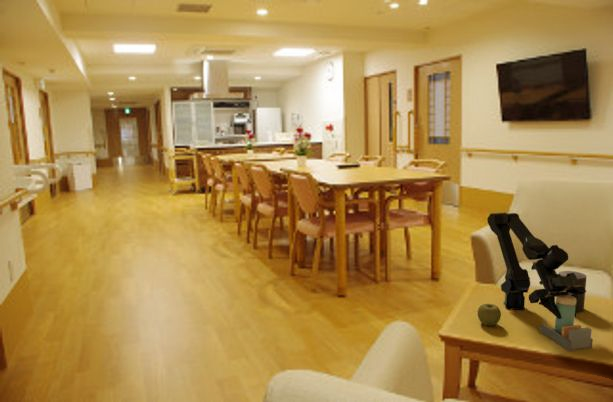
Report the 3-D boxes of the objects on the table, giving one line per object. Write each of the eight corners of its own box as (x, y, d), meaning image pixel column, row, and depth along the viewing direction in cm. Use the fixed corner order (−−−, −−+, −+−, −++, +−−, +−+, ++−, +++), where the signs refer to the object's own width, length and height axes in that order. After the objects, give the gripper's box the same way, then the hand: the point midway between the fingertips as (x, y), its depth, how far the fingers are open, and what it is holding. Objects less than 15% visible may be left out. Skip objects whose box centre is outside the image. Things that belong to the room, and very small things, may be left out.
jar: (552, 335, 165) (555, 298, 163) (556, 328, 170) (559, 293, 167) (571, 339, 162) (574, 302, 159) (575, 333, 166) (578, 297, 164)
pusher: (560, 340, 162) (562, 326, 162) (577, 338, 164) (578, 324, 163) (563, 342, 161) (564, 328, 161) (579, 340, 163) (581, 326, 162)
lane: (540, 331, 171) (541, 314, 170) (561, 329, 173) (563, 311, 171) (568, 350, 157) (570, 331, 156) (592, 347, 159) (593, 329, 158)
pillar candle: (581, 314, 184) (585, 276, 181) (553, 309, 190) (556, 272, 187) (585, 306, 191) (588, 270, 189) (558, 301, 197) (561, 265, 195)
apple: (497, 330, 173) (498, 311, 172) (474, 325, 177) (475, 307, 176) (502, 322, 179) (503, 304, 178) (479, 318, 183) (480, 300, 182)
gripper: (535, 267, 163) (556, 311, 155) (584, 262, 167) (607, 305, 158) (520, 281, 172) (538, 324, 164) (566, 277, 176) (586, 318, 167)
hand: (568, 317), depth 163 cm, fingers closed on jar, 5 cm apart
